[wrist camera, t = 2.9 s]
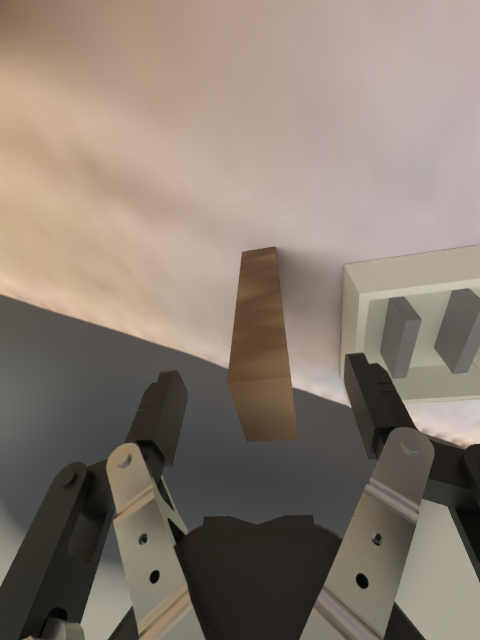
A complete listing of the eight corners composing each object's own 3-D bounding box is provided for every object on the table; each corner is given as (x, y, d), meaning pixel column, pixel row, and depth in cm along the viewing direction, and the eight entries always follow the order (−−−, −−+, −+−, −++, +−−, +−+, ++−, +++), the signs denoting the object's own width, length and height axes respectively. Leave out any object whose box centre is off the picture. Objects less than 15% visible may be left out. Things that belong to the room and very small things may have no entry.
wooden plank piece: (275, 246, 19) (290, 377, 10) (281, 297, 22) (298, 439, 13) (242, 251, 20) (227, 382, 10) (251, 301, 22) (247, 441, 13)
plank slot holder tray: (531, 237, 18) (589, 264, 15) (473, 361, 25) (503, 397, 22) (343, 264, 20) (359, 293, 17) (339, 372, 27) (349, 407, 24)
